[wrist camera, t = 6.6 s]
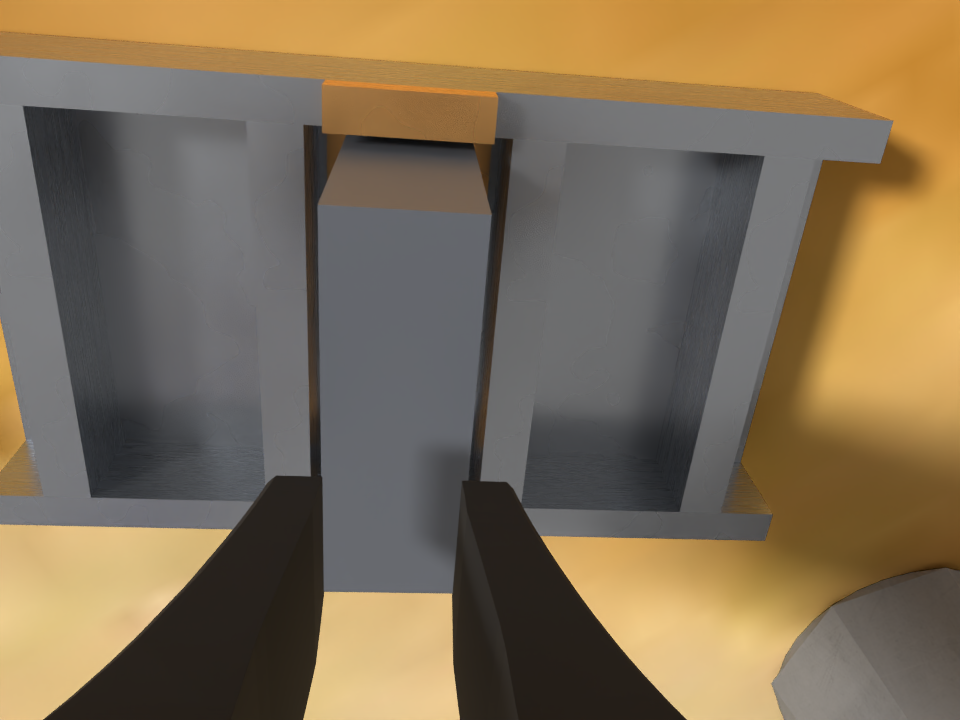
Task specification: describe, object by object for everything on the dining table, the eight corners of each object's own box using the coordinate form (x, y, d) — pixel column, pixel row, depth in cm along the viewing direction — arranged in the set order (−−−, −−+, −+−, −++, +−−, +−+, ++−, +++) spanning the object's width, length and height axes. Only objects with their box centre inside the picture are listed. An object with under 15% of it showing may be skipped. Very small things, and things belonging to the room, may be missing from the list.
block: (448, 418, 20) (458, 593, 14) (350, 415, 19) (322, 591, 14) (469, 129, 16) (491, 215, 11) (352, 121, 16) (317, 204, 11)
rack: (721, 465, 22) (774, 557, 19) (48, 444, 21) (-25, 542, 17) (817, 93, 18) (910, 127, 14) (-33, 29, 16) (-155, 50, 13)
